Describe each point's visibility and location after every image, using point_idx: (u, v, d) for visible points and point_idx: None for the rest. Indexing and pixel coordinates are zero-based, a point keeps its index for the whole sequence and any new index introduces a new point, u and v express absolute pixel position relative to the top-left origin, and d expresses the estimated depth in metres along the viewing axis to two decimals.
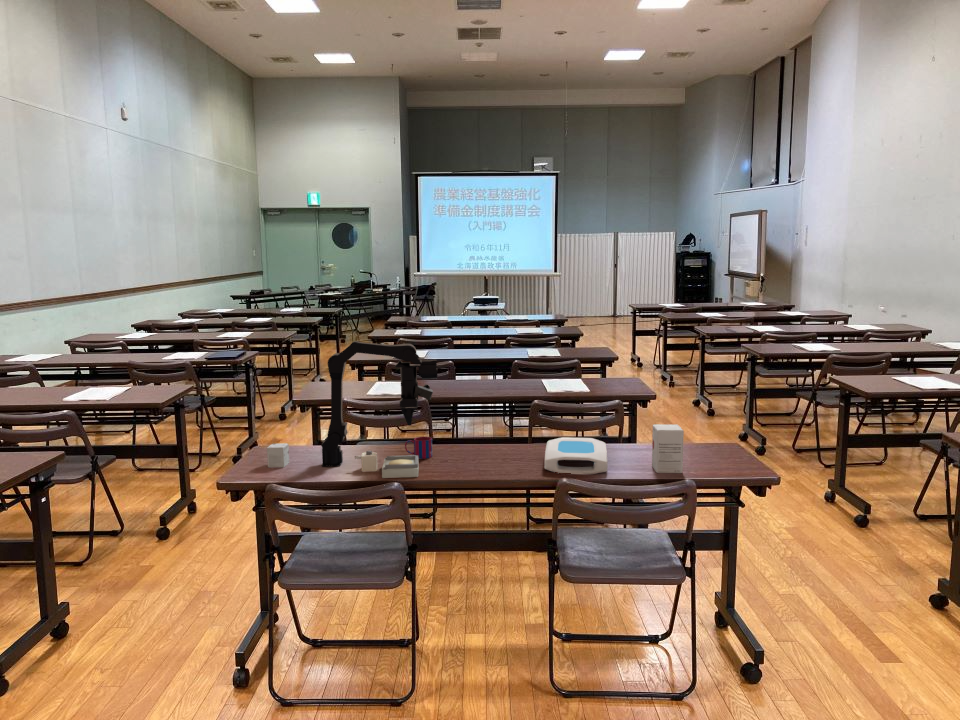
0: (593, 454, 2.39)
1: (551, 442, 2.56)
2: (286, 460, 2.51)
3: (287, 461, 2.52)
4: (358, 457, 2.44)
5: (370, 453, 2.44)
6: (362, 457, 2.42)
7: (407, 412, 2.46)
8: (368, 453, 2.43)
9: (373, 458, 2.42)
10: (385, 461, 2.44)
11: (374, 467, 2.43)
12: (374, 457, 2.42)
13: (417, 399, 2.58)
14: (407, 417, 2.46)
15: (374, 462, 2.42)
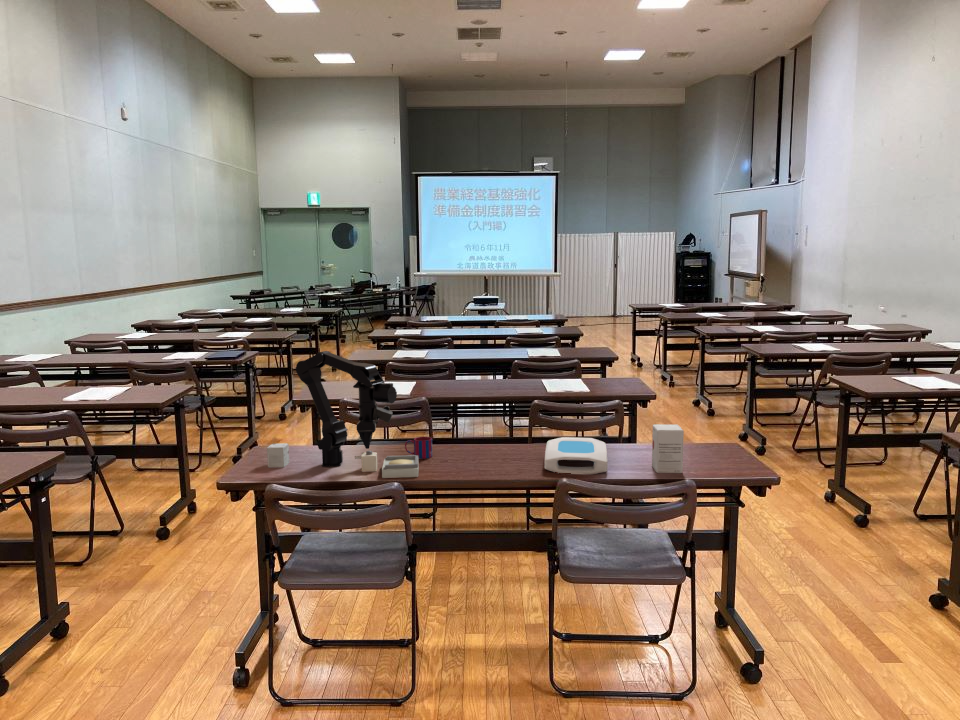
0: (593, 454, 2.39)
1: (551, 442, 2.56)
2: (286, 460, 2.51)
3: (287, 461, 2.52)
4: (358, 457, 2.44)
5: (370, 453, 2.44)
6: (362, 457, 2.42)
7: (365, 435, 2.38)
8: (368, 453, 2.43)
9: (373, 458, 2.42)
10: (385, 461, 2.44)
11: (374, 467, 2.43)
12: (374, 457, 2.42)
13: (377, 421, 2.50)
14: (365, 440, 2.38)
15: (374, 462, 2.42)
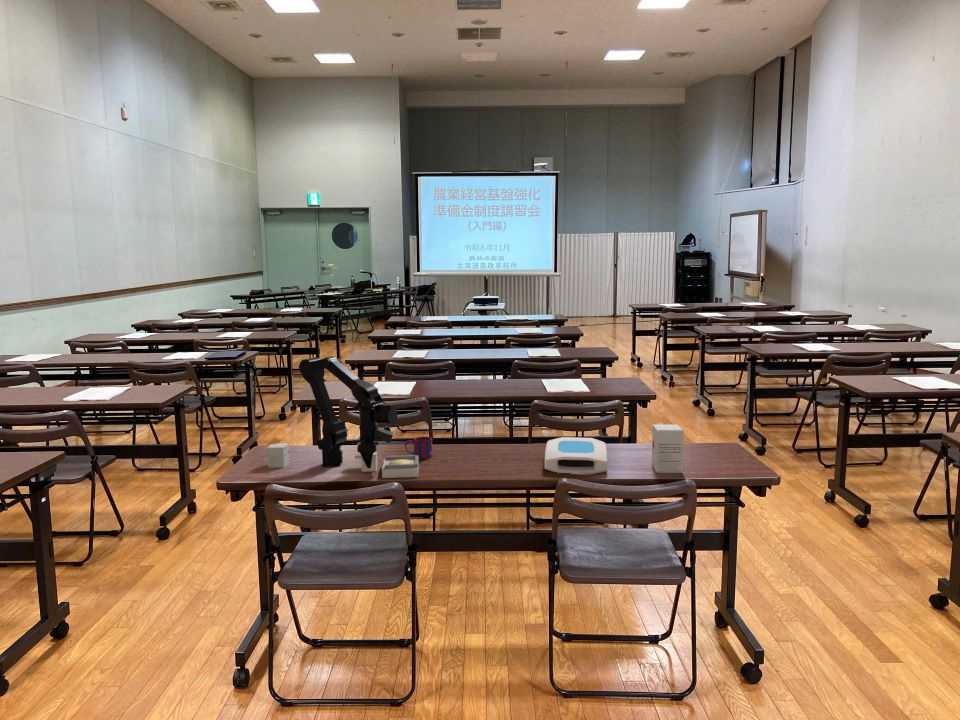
0: (593, 454, 2.39)
1: (551, 442, 2.56)
2: (286, 460, 2.51)
3: (287, 461, 2.52)
4: (358, 457, 2.44)
5: None
6: None
7: (366, 455, 2.40)
8: None
9: (373, 458, 2.42)
10: (385, 461, 2.44)
11: (374, 467, 2.43)
12: (374, 457, 2.42)
13: (378, 442, 2.49)
14: (366, 460, 2.41)
15: (374, 462, 2.42)
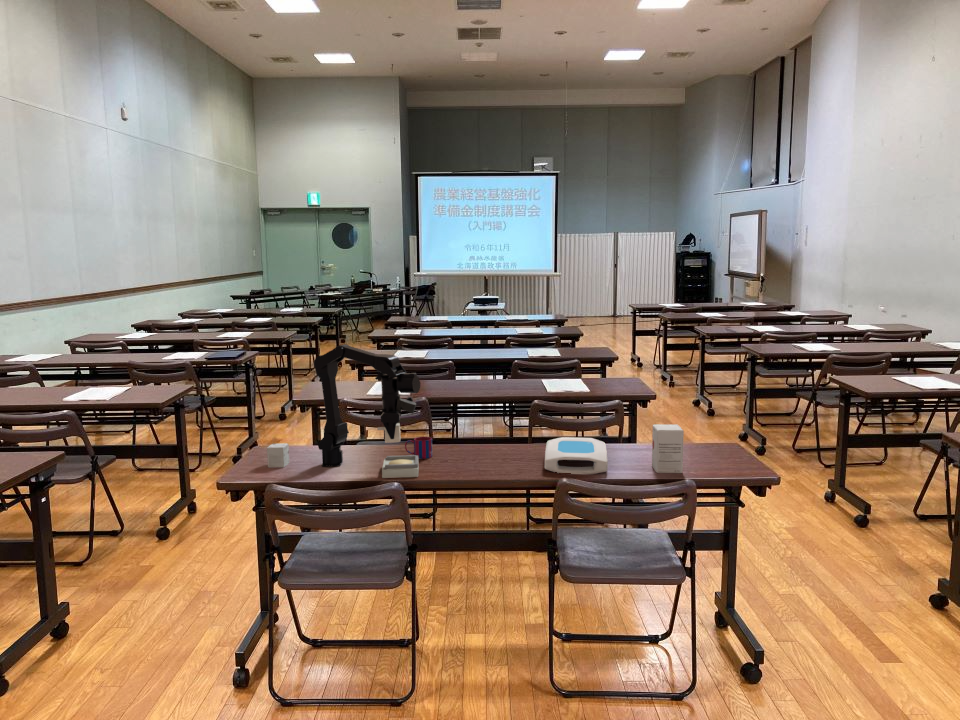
0: (593, 454, 2.39)
1: (551, 442, 2.56)
2: (286, 460, 2.51)
3: (287, 461, 2.52)
4: (381, 428, 2.40)
5: None
6: (385, 428, 2.38)
7: (389, 425, 2.37)
8: None
9: (396, 428, 2.38)
10: (385, 461, 2.44)
11: (397, 438, 2.39)
12: (397, 427, 2.38)
13: (400, 414, 2.46)
14: (389, 431, 2.37)
15: (398, 432, 2.38)
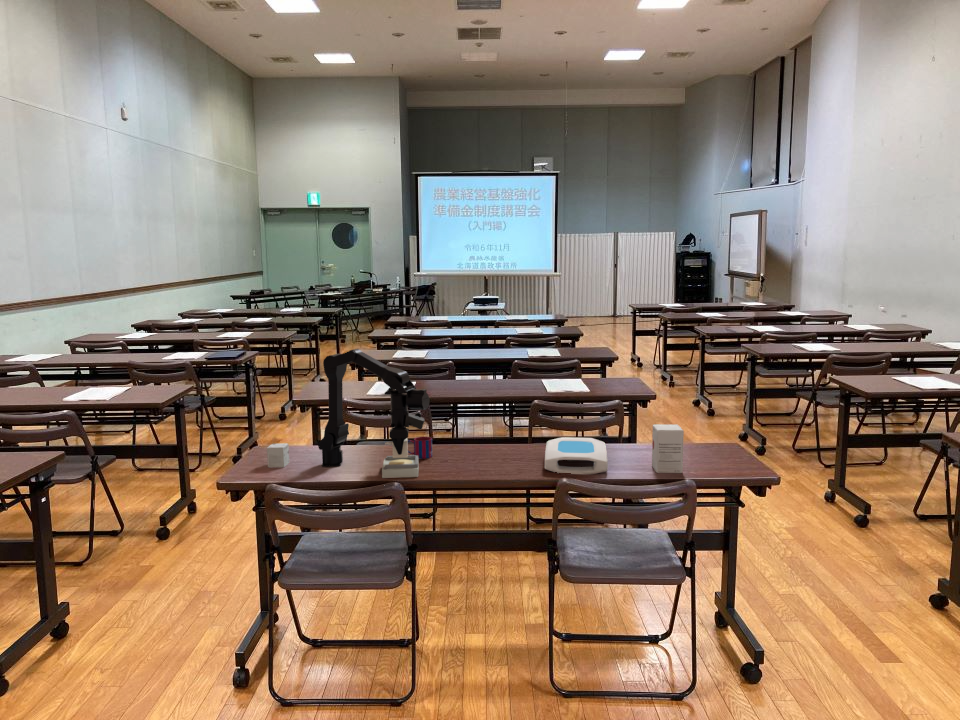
0: (593, 454, 2.39)
1: (551, 442, 2.56)
2: (286, 460, 2.51)
3: (287, 461, 2.52)
4: (389, 443, 2.40)
5: None
6: None
7: (397, 441, 2.37)
8: None
9: (404, 444, 2.38)
10: (385, 461, 2.44)
11: (405, 453, 2.39)
12: (405, 443, 2.38)
13: None
14: (397, 446, 2.37)
15: (405, 448, 2.38)
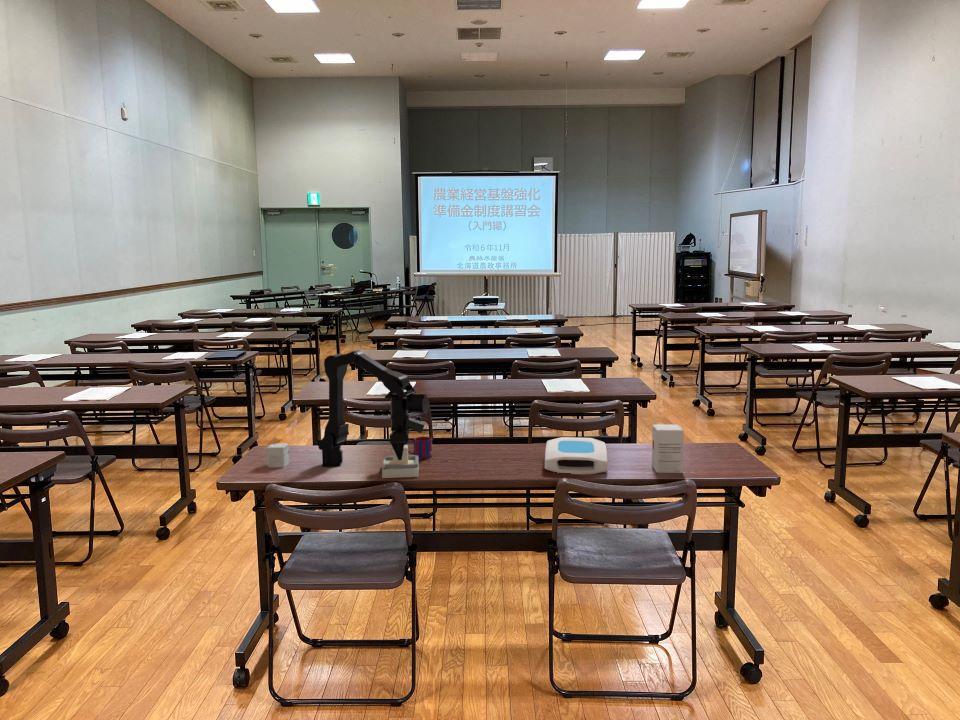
0: (593, 454, 2.39)
1: (551, 442, 2.56)
2: (286, 460, 2.51)
3: (287, 461, 2.52)
4: (389, 449, 2.40)
5: None
6: (393, 450, 2.38)
7: (397, 446, 2.35)
8: None
9: (404, 451, 2.39)
10: (385, 461, 2.44)
11: (405, 460, 2.39)
12: (405, 450, 2.39)
13: (408, 431, 2.48)
14: (397, 452, 2.35)
15: (406, 455, 2.39)
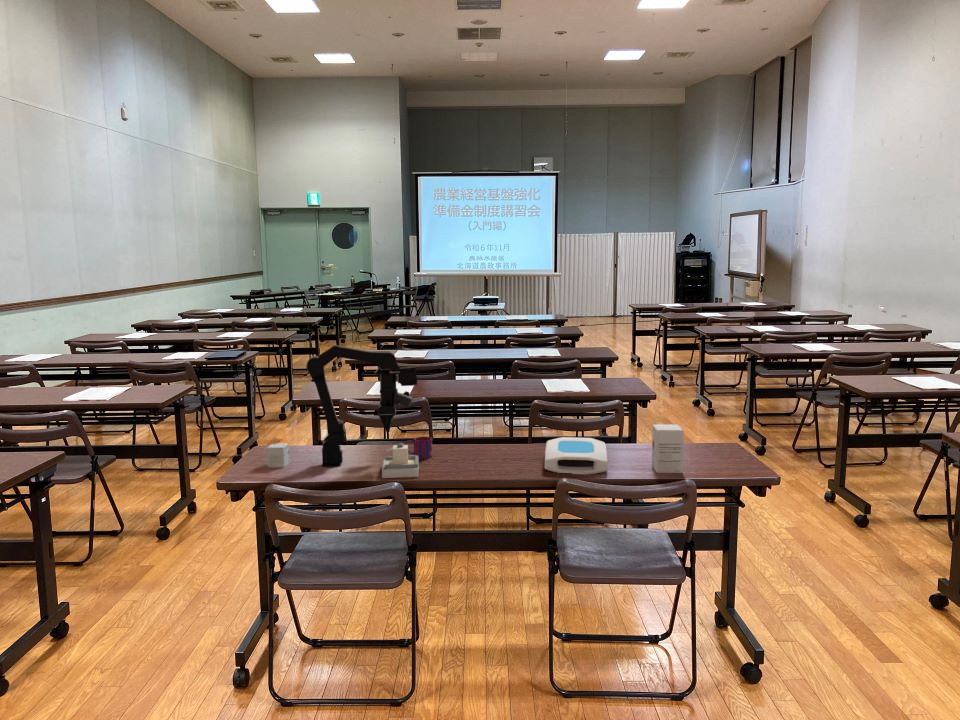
0: (593, 454, 2.39)
1: (551, 442, 2.56)
2: (286, 460, 2.51)
3: (287, 461, 2.52)
4: (389, 449, 2.40)
5: (401, 446, 2.40)
6: (393, 450, 2.38)
7: (385, 419, 2.48)
8: (399, 446, 2.40)
9: (404, 451, 2.39)
10: (385, 461, 2.44)
11: (405, 460, 2.39)
12: (405, 450, 2.39)
13: None
14: (385, 424, 2.48)
15: (406, 455, 2.39)
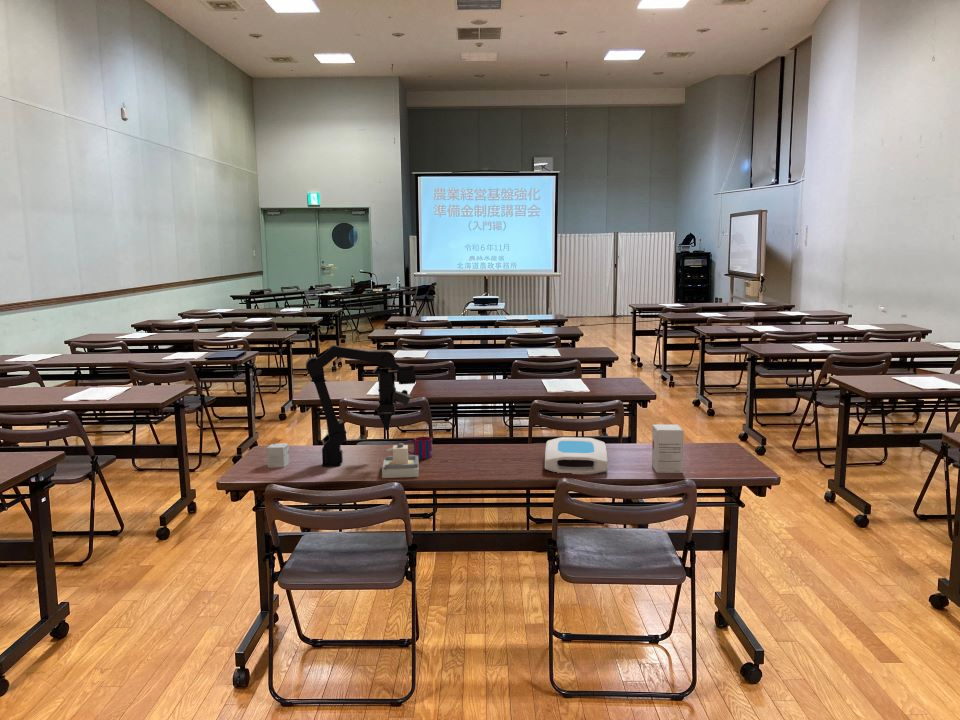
0: (593, 454, 2.39)
1: (551, 442, 2.56)
2: (286, 460, 2.51)
3: (287, 461, 2.52)
4: (389, 449, 2.40)
5: (401, 446, 2.40)
6: (393, 450, 2.38)
7: (385, 417, 2.49)
8: (399, 446, 2.40)
9: (404, 451, 2.39)
10: (385, 461, 2.44)
11: (405, 460, 2.39)
12: (405, 450, 2.39)
13: (395, 404, 2.62)
14: (385, 422, 2.50)
15: (406, 455, 2.39)
